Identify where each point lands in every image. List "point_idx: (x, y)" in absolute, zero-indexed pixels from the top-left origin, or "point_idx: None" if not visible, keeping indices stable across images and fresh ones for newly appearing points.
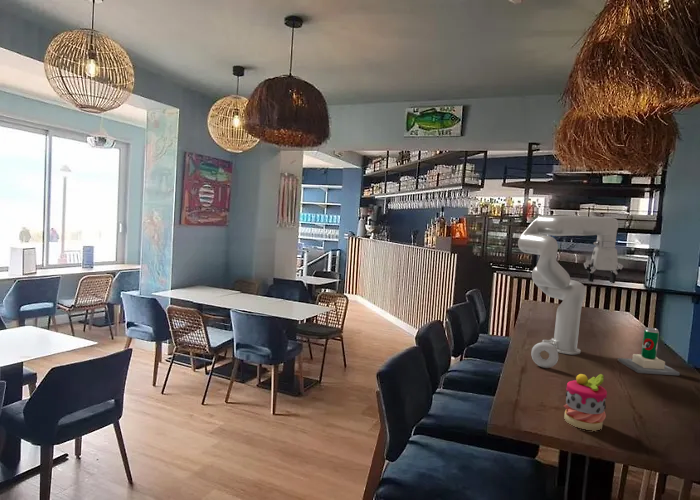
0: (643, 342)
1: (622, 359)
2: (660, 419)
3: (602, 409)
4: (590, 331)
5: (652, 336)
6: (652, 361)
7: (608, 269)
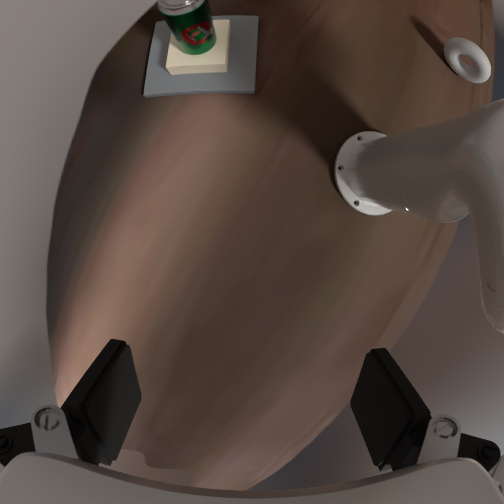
0: (211, 20)
1: (249, 80)
2: None
3: None
4: (177, 380)
5: None
6: None
7: (188, 499)
